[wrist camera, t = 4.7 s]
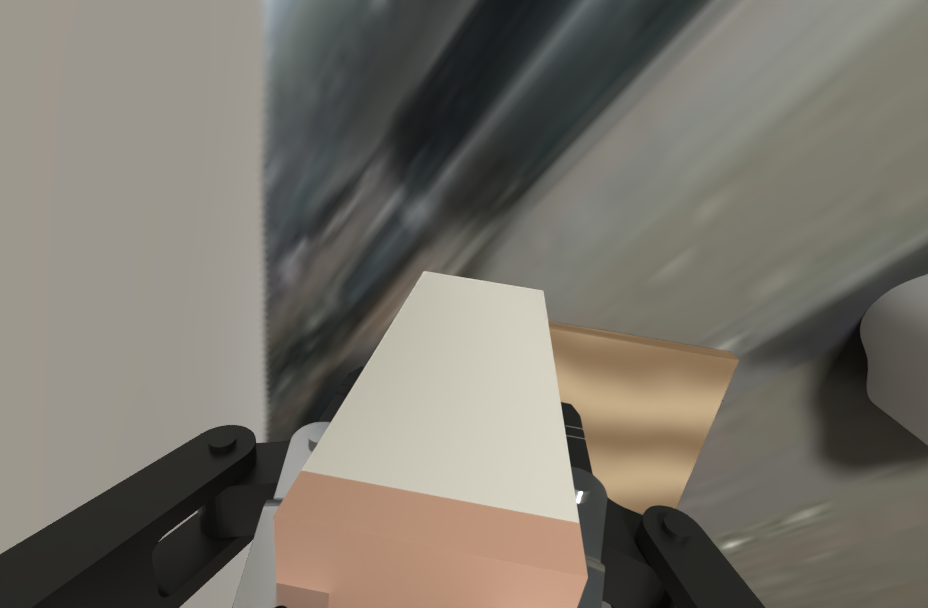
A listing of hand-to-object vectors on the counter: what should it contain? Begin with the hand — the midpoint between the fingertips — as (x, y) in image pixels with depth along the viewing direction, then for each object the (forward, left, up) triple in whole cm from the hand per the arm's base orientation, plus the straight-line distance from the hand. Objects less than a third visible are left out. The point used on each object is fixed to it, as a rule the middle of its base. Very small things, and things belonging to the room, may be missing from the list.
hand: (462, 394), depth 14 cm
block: (0, 0, -2) cm, 2 cm away
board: (+11, +6, -17) cm, 21 cm away
